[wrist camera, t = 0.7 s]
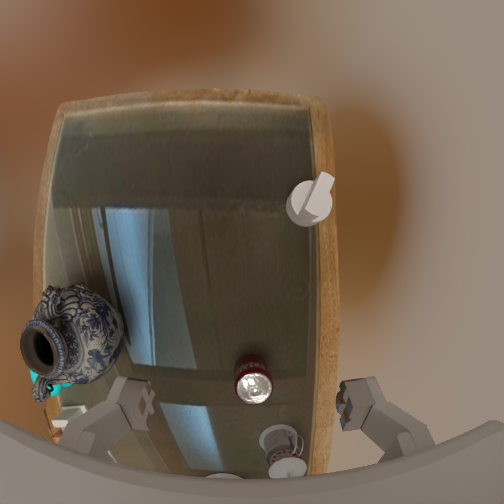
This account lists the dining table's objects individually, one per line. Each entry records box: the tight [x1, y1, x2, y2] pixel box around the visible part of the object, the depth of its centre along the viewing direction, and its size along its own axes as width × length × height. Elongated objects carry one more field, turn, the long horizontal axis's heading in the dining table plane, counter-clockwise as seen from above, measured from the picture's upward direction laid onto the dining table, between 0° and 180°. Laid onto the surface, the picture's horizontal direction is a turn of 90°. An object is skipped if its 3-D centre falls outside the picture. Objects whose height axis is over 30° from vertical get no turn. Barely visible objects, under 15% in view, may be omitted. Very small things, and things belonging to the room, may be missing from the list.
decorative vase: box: [20, 283, 124, 403], centre depth 46 cm, size 21×19×28 cm
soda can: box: [234, 355, 273, 404], centre depth 55 cm, size 7×7×12 cm
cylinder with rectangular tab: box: [286, 172, 335, 227], centre depth 58 cm, size 9×9×12 cm
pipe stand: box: [51, 404, 118, 463], centre depth 52 cm, size 20×9×9 cm, turn 18°
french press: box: [259, 424, 307, 479], centre depth 48 cm, size 10×12×25 cm
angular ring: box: [51, 429, 63, 444], centre depth 49 cm, size 3×9×8 cm, turn 108°
